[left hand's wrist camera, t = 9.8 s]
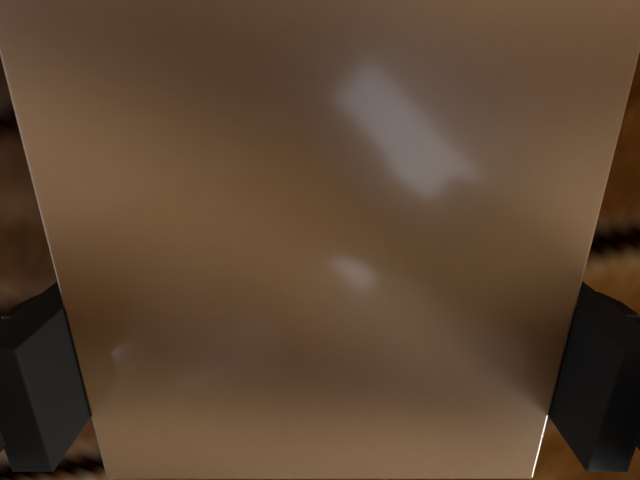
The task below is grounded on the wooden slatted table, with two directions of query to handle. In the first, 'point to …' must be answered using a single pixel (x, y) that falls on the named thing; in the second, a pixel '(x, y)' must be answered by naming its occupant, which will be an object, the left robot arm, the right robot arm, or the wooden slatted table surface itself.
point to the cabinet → (319, 222)
